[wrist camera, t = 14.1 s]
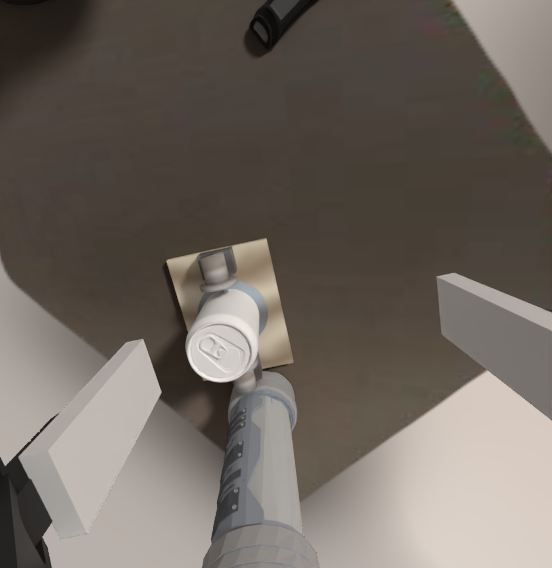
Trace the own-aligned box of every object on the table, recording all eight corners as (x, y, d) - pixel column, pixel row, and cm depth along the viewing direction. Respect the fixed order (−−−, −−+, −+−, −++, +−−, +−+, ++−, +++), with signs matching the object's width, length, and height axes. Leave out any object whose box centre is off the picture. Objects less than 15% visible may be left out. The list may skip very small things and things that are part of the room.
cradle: (168, 259, 46) (149, 271, 39) (266, 237, 46) (266, 246, 38) (204, 377, 51) (194, 408, 44) (292, 358, 51) (297, 387, 43)
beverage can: (236, 351, 49) (227, 399, 37) (191, 319, 47) (167, 359, 36) (270, 310, 47) (272, 347, 36) (225, 276, 46) (212, 303, 34)
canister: (228, 421, 53) (185, 688, 24) (233, 365, 51) (193, 589, 22) (289, 426, 54) (319, 692, 25) (298, 371, 52) (341, 596, 23)
